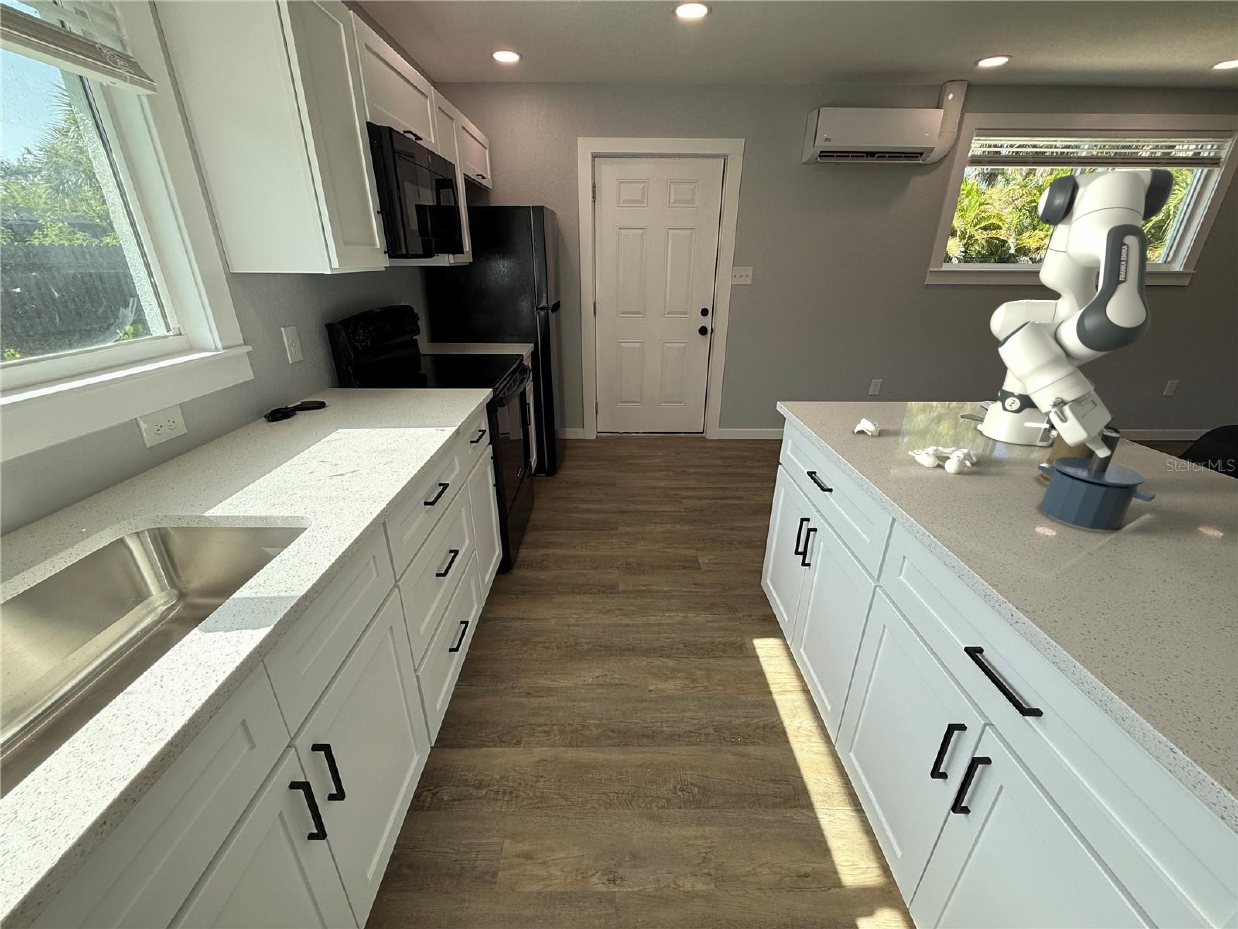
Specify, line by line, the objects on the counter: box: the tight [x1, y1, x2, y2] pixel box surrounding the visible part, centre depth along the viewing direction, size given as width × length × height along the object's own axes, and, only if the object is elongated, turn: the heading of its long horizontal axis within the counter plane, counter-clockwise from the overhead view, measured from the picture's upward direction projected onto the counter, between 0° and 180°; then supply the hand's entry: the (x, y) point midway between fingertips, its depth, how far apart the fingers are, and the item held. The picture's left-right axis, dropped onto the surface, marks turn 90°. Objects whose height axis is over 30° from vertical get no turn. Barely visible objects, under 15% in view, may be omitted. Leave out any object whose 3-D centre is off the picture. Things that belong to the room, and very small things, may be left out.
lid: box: [1053, 431, 1145, 486], centre depth 97 cm, size 13×13×9 cm
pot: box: [1037, 462, 1156, 531], centre depth 100 cm, size 12×18×10 cm
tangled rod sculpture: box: [908, 445, 977, 475], centre depth 129 cm, size 19×14×4 cm
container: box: [1037, 412, 1115, 485], centre depth 113 cm, size 9×9×18 cm
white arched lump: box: [854, 417, 880, 436], centre depth 151 cm, size 8×7×5 cm
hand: (1108, 453), depth 96 cm, fingers closed on lid, 2 cm apart
